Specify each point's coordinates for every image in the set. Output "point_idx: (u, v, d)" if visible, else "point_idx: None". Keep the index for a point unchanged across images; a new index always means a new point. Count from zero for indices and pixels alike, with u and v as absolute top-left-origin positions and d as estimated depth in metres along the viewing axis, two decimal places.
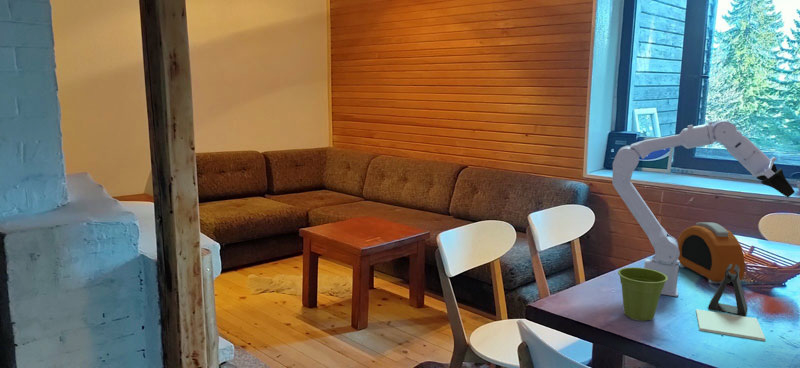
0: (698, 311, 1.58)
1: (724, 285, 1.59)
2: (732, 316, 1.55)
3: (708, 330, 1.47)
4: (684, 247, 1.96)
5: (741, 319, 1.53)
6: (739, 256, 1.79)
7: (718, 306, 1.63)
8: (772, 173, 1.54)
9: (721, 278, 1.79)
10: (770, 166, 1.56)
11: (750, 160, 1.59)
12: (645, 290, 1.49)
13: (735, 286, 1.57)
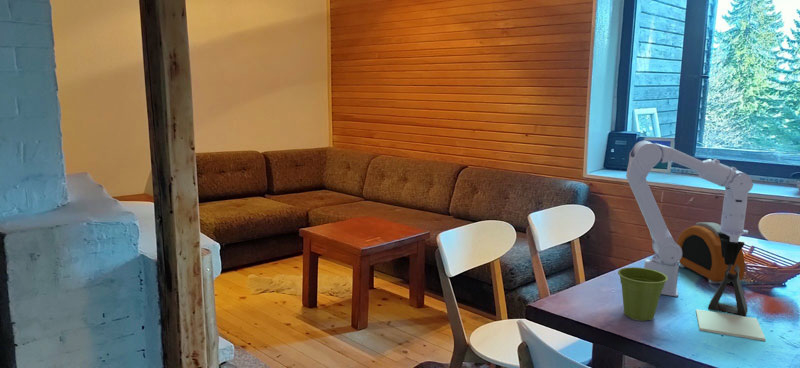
0: (698, 311, 1.58)
1: (724, 285, 1.59)
2: (732, 316, 1.55)
3: (708, 330, 1.47)
4: (684, 247, 1.96)
5: (741, 319, 1.53)
6: (739, 256, 1.79)
7: (718, 306, 1.63)
8: (736, 240, 1.62)
9: (721, 278, 1.79)
10: (739, 235, 1.63)
11: (731, 218, 1.65)
12: (645, 290, 1.49)
13: (735, 286, 1.57)
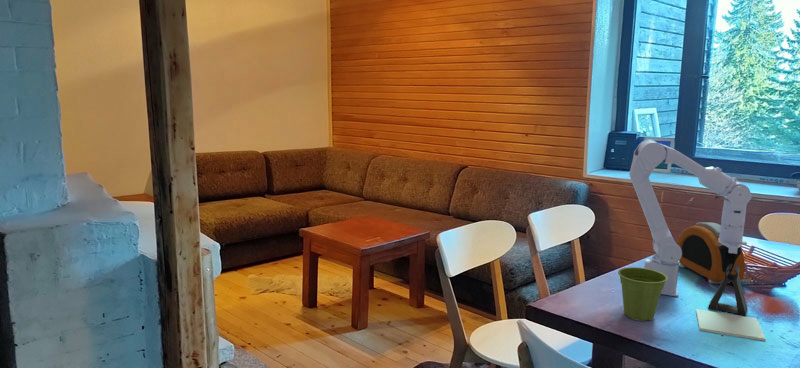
0: (698, 311, 1.58)
1: (724, 285, 1.59)
2: (732, 316, 1.55)
3: (708, 330, 1.47)
4: (684, 247, 1.96)
5: (741, 319, 1.53)
6: (739, 256, 1.79)
7: (718, 306, 1.63)
8: (735, 252, 1.62)
9: (721, 278, 1.79)
10: (738, 246, 1.64)
11: (730, 229, 1.66)
12: (645, 290, 1.49)
13: (735, 286, 1.57)
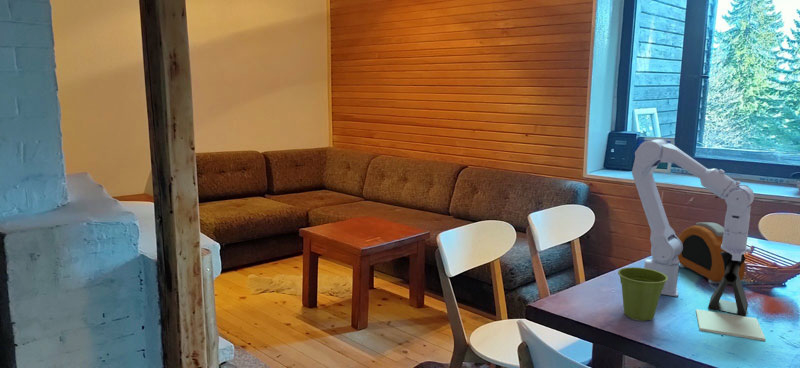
0: (698, 311, 1.58)
1: (723, 287, 1.57)
2: (732, 316, 1.55)
3: (708, 330, 1.47)
4: (684, 247, 1.96)
5: (741, 319, 1.53)
6: None
7: (718, 304, 1.62)
8: (739, 259, 1.55)
9: (721, 278, 1.79)
10: (742, 253, 1.57)
11: (733, 235, 1.59)
12: (645, 290, 1.49)
13: (734, 288, 1.56)
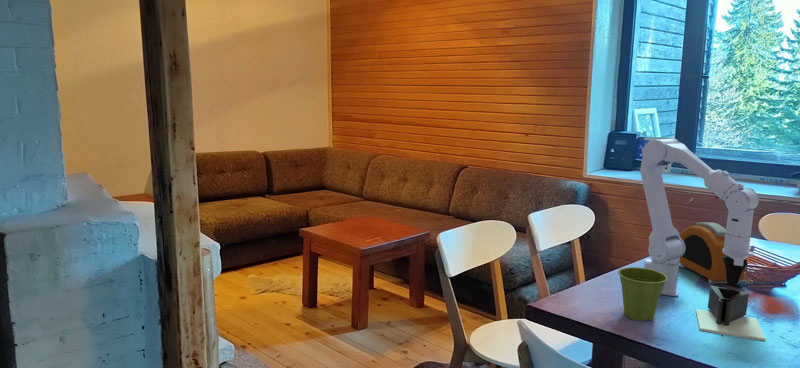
0: (698, 311, 1.58)
1: None
2: None
3: (708, 330, 1.47)
4: None
5: (741, 319, 1.53)
6: None
7: None
8: (741, 264, 1.51)
9: (721, 278, 1.79)
10: (744, 257, 1.53)
11: (735, 239, 1.55)
12: (645, 290, 1.49)
13: None
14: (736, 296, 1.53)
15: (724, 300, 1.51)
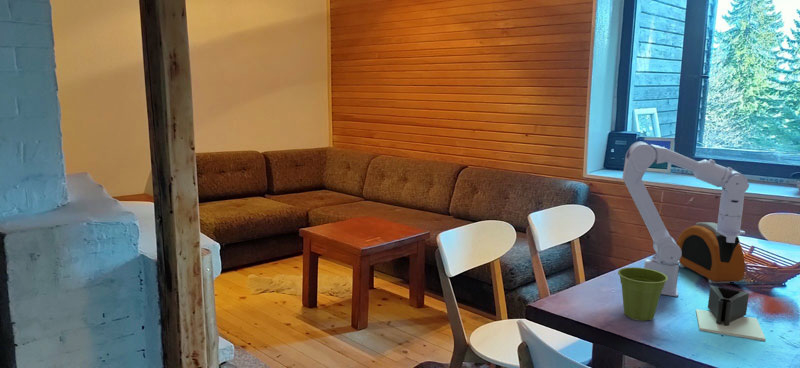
0: (698, 311, 1.58)
1: None
2: None
3: (708, 330, 1.47)
4: (684, 247, 1.96)
5: (741, 319, 1.53)
6: (739, 256, 1.79)
7: None
8: (733, 241, 1.61)
9: (721, 278, 1.79)
10: (736, 235, 1.63)
11: (728, 219, 1.65)
12: (645, 290, 1.49)
13: None
14: (736, 296, 1.53)
15: (724, 300, 1.51)
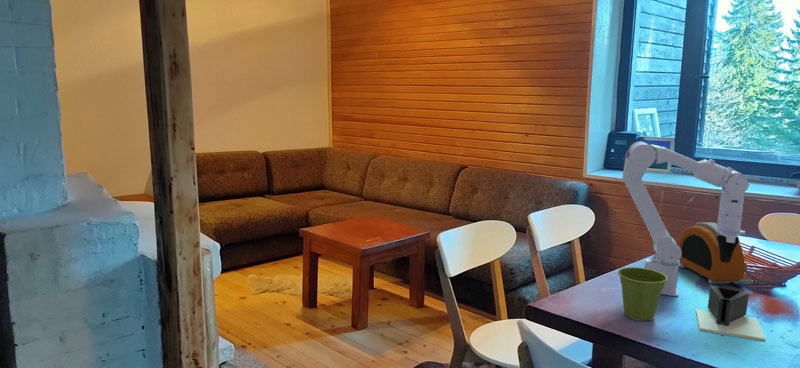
0: (698, 311, 1.58)
1: None
2: None
3: (708, 330, 1.47)
4: (684, 247, 1.96)
5: (741, 319, 1.53)
6: (739, 256, 1.79)
7: None
8: (733, 241, 1.61)
9: (721, 278, 1.79)
10: (736, 235, 1.63)
11: (728, 219, 1.65)
12: (645, 290, 1.49)
13: None
14: (736, 296, 1.53)
15: (724, 300, 1.51)
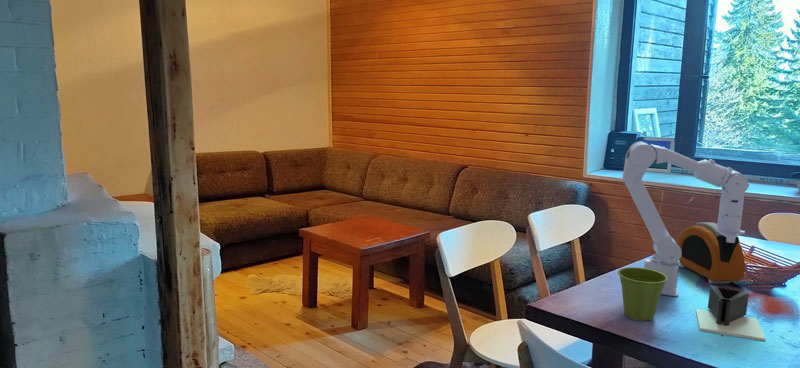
0: (698, 311, 1.58)
1: None
2: None
3: (708, 330, 1.47)
4: (684, 247, 1.96)
5: (741, 319, 1.53)
6: (739, 256, 1.79)
7: None
8: (733, 241, 1.61)
9: (721, 278, 1.79)
10: (736, 235, 1.63)
11: (728, 219, 1.65)
12: (645, 290, 1.49)
13: None
14: (736, 296, 1.53)
15: (724, 300, 1.51)
